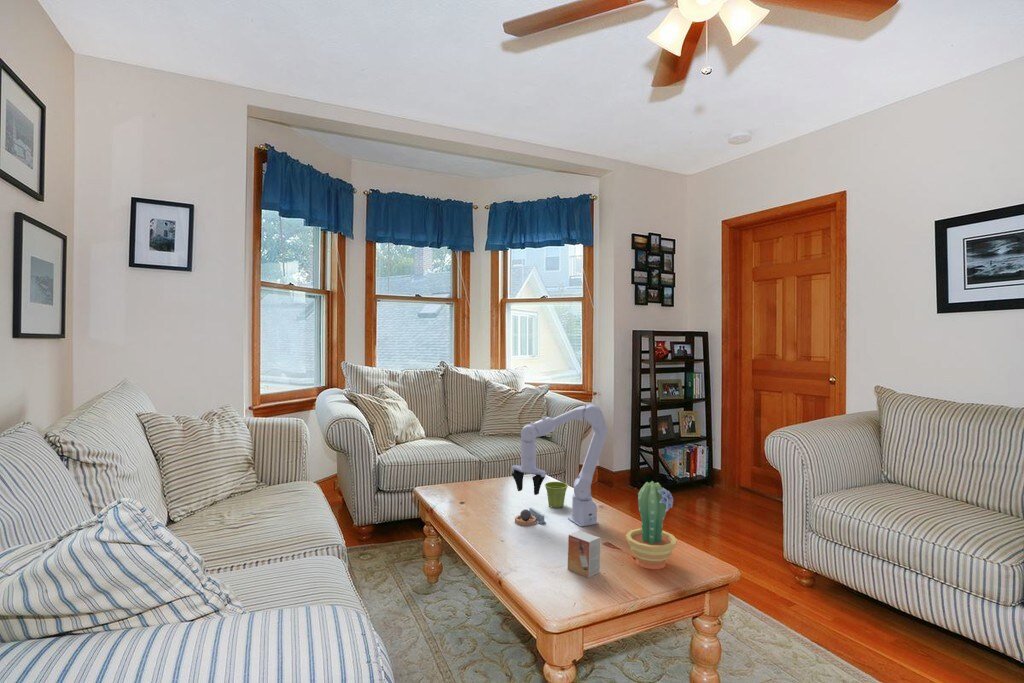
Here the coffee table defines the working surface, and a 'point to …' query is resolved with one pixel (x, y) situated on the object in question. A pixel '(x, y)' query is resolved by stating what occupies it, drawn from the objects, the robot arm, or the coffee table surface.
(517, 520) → the bowl
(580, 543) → the small box
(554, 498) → the plant pot
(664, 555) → the potted cactus
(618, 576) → the coffee table surface
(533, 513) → the blue slab with nubs
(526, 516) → the ball
